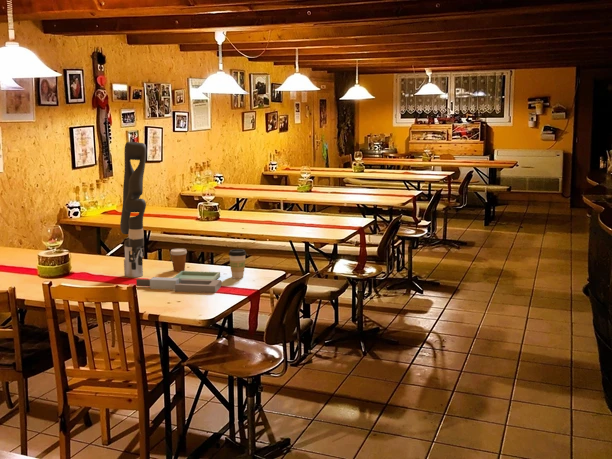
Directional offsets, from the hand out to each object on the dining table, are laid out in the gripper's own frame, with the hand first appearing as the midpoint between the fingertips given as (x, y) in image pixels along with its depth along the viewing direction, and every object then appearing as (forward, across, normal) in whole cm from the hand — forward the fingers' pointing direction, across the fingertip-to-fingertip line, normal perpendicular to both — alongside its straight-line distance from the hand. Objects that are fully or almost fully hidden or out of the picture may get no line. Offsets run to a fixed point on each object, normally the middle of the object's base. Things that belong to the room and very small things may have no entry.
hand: (137, 267), depth 325 cm
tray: (+10, -19, +26) cm, 34 cm away
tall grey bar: (+10, 0, +11) cm, 15 cm away
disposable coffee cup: (+11, -37, +10) cm, 40 cm away
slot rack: (+10, -1, +33) cm, 34 cm away
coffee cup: (+10, -27, +47) cm, 55 cm away
